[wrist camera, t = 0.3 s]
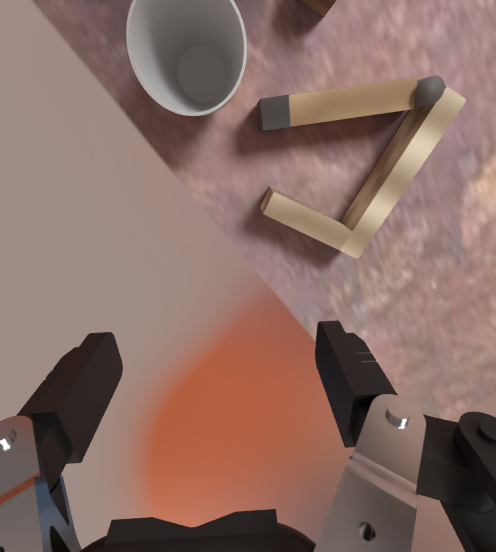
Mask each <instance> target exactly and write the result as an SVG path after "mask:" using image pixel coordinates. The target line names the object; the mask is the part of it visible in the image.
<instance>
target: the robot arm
mask: <svg viewBox="0 0 496 552" xmlns="http://www.w3.org/2000/svg"><path fill="white" fill-rule="evenodd" d="M315 360H316V366H317V369H318V372H319V375H320V377H321V380H322V383H323V386H324V389H325V392H326V395H327V398H328V401H329V403H330V406H331V409H332V412H333V415H334V418H335V420H336V423H337V426H338V429H339V432H340V435H341V438H342V440H343V443H344V446H345V447H355V450H354V452H353V455H352V457H350V458H349V460H348V462H347V464H346V467H345V470H344V472H343V475H342V478H341V480H340V483H339V486H338V488H337V491H336V494H335V497H334V499H333V501H332V504H331V507H330V510H329V513H328V515H327V517H326V521H325V523H324V525H323V528H322V531H321V534H320V536H319V539H318V542H317V544H315V543H314V542H313V541H312V540H311V539H309V538H308V537H307V536H305V535H304V534H302V533H301V532H299V531H297V530H296V529H294V528H291V527H289V526H287V525H284V524H280V523H277V516H276V509H270V510H256V511H241V512H234V513H231V514H229V515H226V516H224V517H221V518H219V519H216V520H213V521H211V522H208V523H205V524H203V525H200V526H197V527H192V528H191V527H186V526H183V525H179V524H175V523H171V522H168V521H164V520H161V519H157V518H153V517H149V518H134V519H119V520H112V521H111V524H110V527H109V531H108V533H107V536H105V537H102V538H101V539H99V540H97V541H95V542H93V543H91V544H90V545H88V546H87V547H85V548H84V549H81V546H80V544H79V542H78V539H77V536H76V533H75V529H74V524H73V520H72V515H71V511H70V506H69V502H68V497H67V493H66V488H65V484H64V480H63V476H62V475H61V473H62V471H63V469H64V467H65V465H66V464H68V463H81V462H82V460H83V458H84V456H85V453H86V451H87V449H88V447H89V445H90V443H91V441H92V439H93V436H94V434H95V432H96V430H97V428H98V426H99V424H100V422H101V419H102V417H103V415H104V413H105V411H106V409H107V407H108V405H109V403H110V400H111V398H112V396H113V394H114V392H115V390H116V388H117V386H118V383H119V381H120V379H121V376H122V371H123V365H122V360H121V357H120V354H119V350H118V347H117V344H116V340H115V337H114V335H113V333H111V332H103V333H90V334H88V335H87V337H86V338H85V340H84V341H83V342H82V344H81V345H80V346H79V347H75V348H73V349H72V350H71V351H70V352H68V353H67V354H66V355H64V356H63V357H62V358H61V359H60V360H59V362H58V363H57V364H56V365H55V367H54V368H53V371H51V372H50V373H49V374H48V376H47V377H46V380H44V381H43V382H42V383H41V385H40V386H39V387H38V389H37V390H36V391H35V392H34V394H33V395H32V396H31V398H30V399H29V400H28V401H27V403H26V404H25V405H24V406H23V408H22V409H21V410H20V412H19V413H18V414H17V415H16V416H14V417H10V418H7V419H4V420H2V421H0V552H411V545H412V539H413V533H414V526H415V519H416V512H417V505H418V494H419V495H423V496H426V497H430V498H433V499H436V500H440V502H441V504H442V506H443V508H444V510H445V512H446V514H447V516H448V518H449V520H450V522H451V524H452V526H453V528H454V530H455V532H456V534H457V536H458V538H459V540H460V542H461V544H462V546H463V548H464V550H465V552H496V418H495V417H493V416H491V415H488V414H485V413H480V412H468V413H465V414H463V415H462V416H461V417H460V420H459V422H458V423H457V422H452V421H448V420H444V419H439V418H434V417H430V416H427V415H424V414H422V412H421V411H420V410H419V408H418V407H417V406H415V405H414V404H413V403H412V402H410V401H409V400H407V399H405V398H403V397H400V396H398V395H397V393H396V391H395V390H394V388H393V387H392V385H391V383H390V382H389V380H388V379H387V377H386V375H385V374H384V372H383V371H382V369H381V367H380V366H379V364H378V363H377V362H376V359H375V358H374V356H373V355H372V353H371V351H370V350H369V348H368V347H367V345H366V343H365V342H364V341H363V340H362V339H361V338H359V337H358V336H357V335H356V334H354V333H345V331H344V329H343V327H342V325H341V324H340V322H339V321H319V322H318V325H317V336H316V348H315Z"/></svg>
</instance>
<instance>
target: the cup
mask: <svg viewBox="0 0 496 552" xmlns="http://www.w3.org/2000/svg"><path fill="white" fill-rule="evenodd" d="M126 41H127V49H128V54H129V58H130V62H131V65H132V67H133V70H134V72H135V74H136V76H137V78H138V80H139V82H140V83H141V85H142V86H143V88H144V89H145V90H146V92H147V93H148V94H149V95H150V96H151V97H152V98H153V99H154V100H155V101H156V102H157V103H159V104H160V105H161V106H163V107H164V108H166V109H168V110H170V111H172V112H175V113H177V114H181V115H186V116H203V115H208V114H212V113H214V112H216V111H218V110H220V109H221V108H222V107H224V106H225V105H226V104H227V103H228V102H229V101H230V99H231V98H232V96H233V95H234V93H235V91H236V89H237V88H238V86H239V84H240V81H241V79H242V76H243V73H244V70H245V65H246V58H247V40H246V32H245V27H244V23H243V20H242V17H241V14H240V12H239V10H238V8H237V6H236V4H235V2H234V0H133V1H132V4H131V6H130V10H129V13H128V18H127V26H126Z"/></svg>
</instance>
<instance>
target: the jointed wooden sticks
mask: <svg viewBox="0 0 496 552" xmlns="http://www.w3.org/2000/svg"><path fill="white" fill-rule="evenodd" d="M299 1H301V2H302V3H304V4H305V5H307V6H308V7H309V8H311V9H312V10H314V11H315V12H317V13H318V14H320V15H321V16H323V17H324V16H325V15H326V14H327V12H328V11H329V9H330V8H331V7H332V5H333V4H334V3H335V1H336V0H299ZM465 102H466V99H465V98H463V97H462V96H460V95H459V94H457V93H456V92H455V91H453V90H452V89H450V88H449V87H447V86H445V89H444V93H443V95H442V97H441V98H440V99H439V100H438V101H437V102H436V103H434V104H431V105H425V106H419V107H414V109H411V110H410V111H409V113H408V114H407V116H406V118H405V119H404V121H403V122H402V124H401V126H400V127H399V129H398V130H397V132H396V134H395V135H394V137H393V138H392V140H391V142H390V143H389V145H388V147H387V148H386V150H385V151H384V153H383V155H382V156H381V158H380V159H379V161H378V163H377V164H376V166H375V167H374V169H373V171H372V172H371V174H370V175H369V177H368V179H367V180H366V182H365V183H364V185H363V187H362V188H361V190H360V191H359V193H358V195H357V196H356V198H355V199H354V201H353V203H352V204H351V206H350V207H349V209H348V211H347V212H346V214H345V215H344V217H343V219H342V220H341V222H339V221H337V220H335V219H333V218H331V217H329V216H327V215H325V214H323V213H321V212H319V211H317V210H315V209H313V208H311V207H309V206H307V205H305V204H303V203H301V202H299V201H298V200H296V199H294V198H292V197H290V196H288V195H286V194H284V193H282V192H280V191H278V190H276V189H274V188H272V187H269V189H268V191H267V193H266V195H265V197H264V199H263V201H262V203H261V205H260V207H261V210H262V213H263V214H264V215H266V216H268V217H270V218H273V219H275V220H277V221H279V222H281V223H283V224H285V225H287V226H289V227H292V228H294V229H296V230H298V231H300V232H302V233H304V234H306V235H308V236H310V237H313V238H315V239H317V240H319V241H321V242H323V243H325V244H327V245H329V246H331V247H334V248H336V249H338V250H340V251H342V252H344V253H346V254H348V255H350V256H353V257H355V258H357V259H358V258H359V256H360V255H361V253H362V252H363V250H364V249H365V248H366V246H367V245H368V243H369V242H370V240H371V239H372V237H373V236H374V234H375V233H376V231H377V230H378V229H379V227H380V226H381V224H382V223H383V221H384V220H385V218H386V217H387V215H388V214H389V213H390V211H391V210H392V208H393V207H394V205H395V204H396V202H397V201H398V199H399V198H400V196H401V195H402V194H403V192H404V191H405V189H406V188H407V186H408V185H409V183H410V182H411V180H412V179H413V178H414V176H415V175H416V173H417V172H418V170H419V169H420V167H421V166H422V164H423V163H424V161H425V160H426V159H427V157H428V156H429V154H430V153H431V151H432V150H433V148H434V147H435V145H436V144H437V143H438V141H439V140H440V138H441V137H442V135H443V134H444V132H445V131H446V129H447V128H448V126H449V125H450V124H451V122H452V121H453V119H454V118H455V116H456V115H457V113H458V112H459V110H460V109H461V108H462V106H463V105H464V103H465Z"/></svg>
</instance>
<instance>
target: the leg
mask: <svg viewBox="0 0 496 552" xmlns="http://www.w3.org/2000/svg"><path fill="white" fill-rule="evenodd" d="M417 79H418V77H415V78H408V79H401V80H394V81H387V82H380V83H373V84H366V85H359V86H352V87H345V88H338V89H331V90H324V91H317V92H310V93H303V94H296V95H290V96H289V95H284V96H277V97H270V98H263V99H260V100H259V102H258V103H257V110H258V120H259V130H260V132H262V131H269V130H276V129H283V128H288V127H293V126H300V125H307V124H314V123H321V122H328V121H335V120H342V119H349V118H356V117H363V116H370V115H377V114H384V113H392V112H398V111H404V110H410V109H414V107H419V106H425V105H431V104H434V103H436V102H437V101H438V100H439V99H440V98H441V97H442V95H443V93H444V89H445V84H444V81H443V79H442V78H441V77H440V76H431V77H428V78H425V79H422V80H418V81H417Z"/></svg>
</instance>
